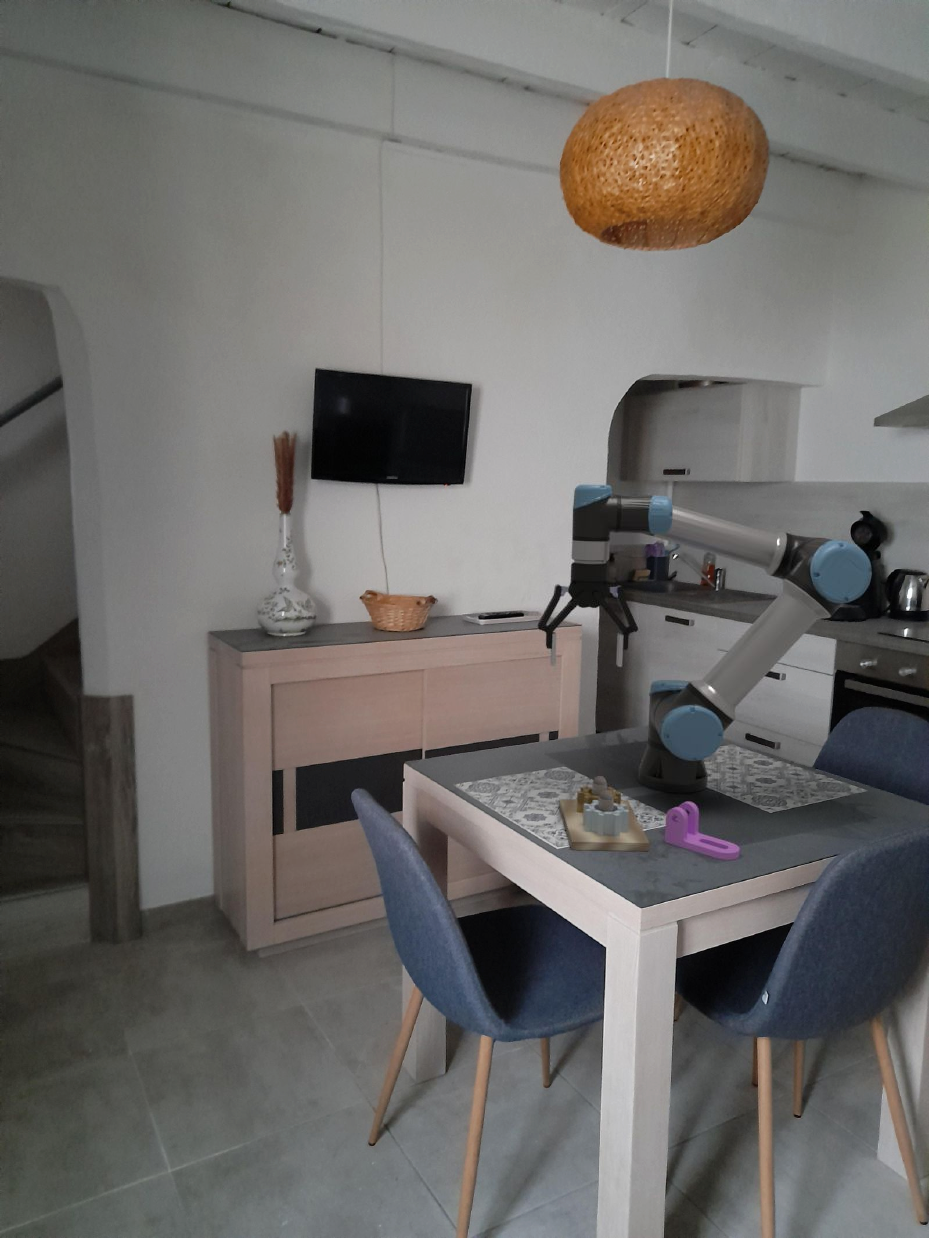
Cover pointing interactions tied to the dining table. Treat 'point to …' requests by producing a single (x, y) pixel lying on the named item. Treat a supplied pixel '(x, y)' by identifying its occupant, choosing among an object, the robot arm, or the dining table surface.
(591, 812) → the gear
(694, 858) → the dining table surface
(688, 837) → the bracket
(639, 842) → the gear board
